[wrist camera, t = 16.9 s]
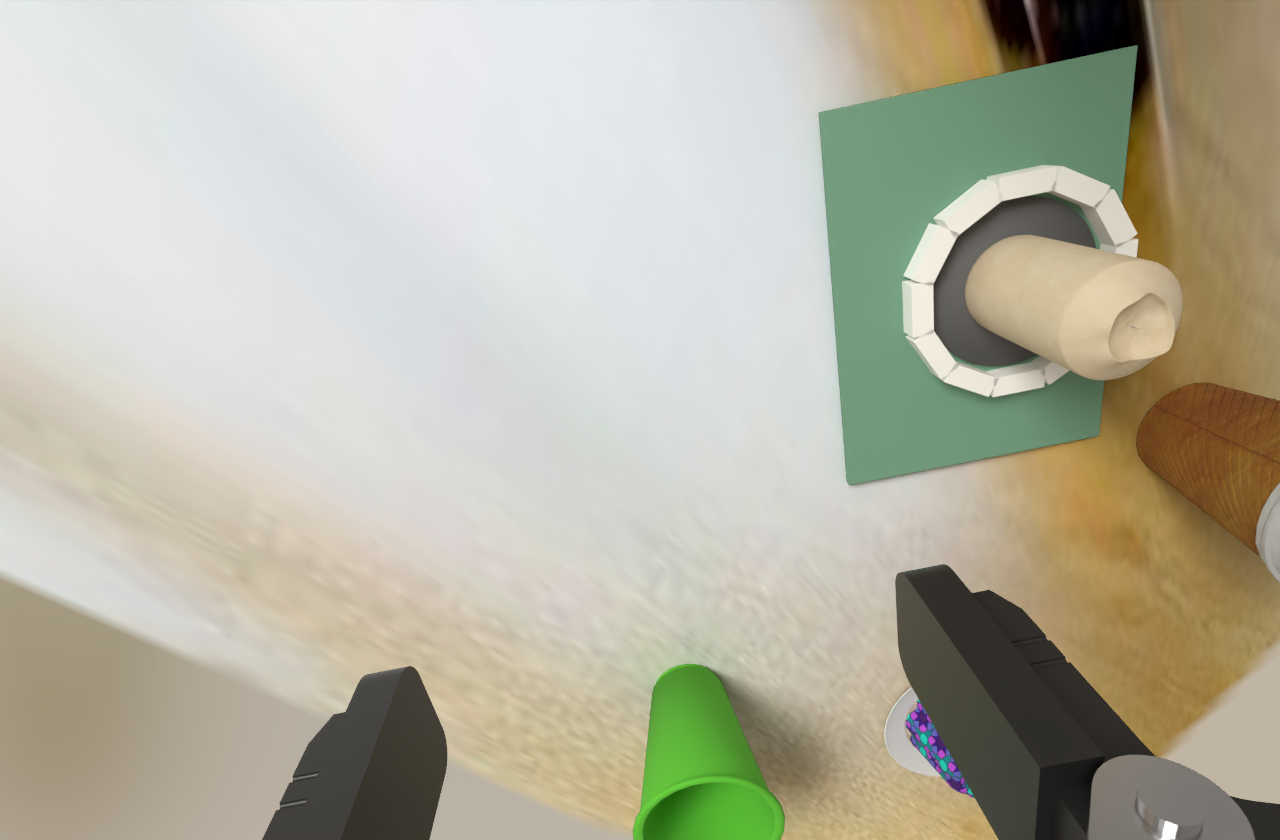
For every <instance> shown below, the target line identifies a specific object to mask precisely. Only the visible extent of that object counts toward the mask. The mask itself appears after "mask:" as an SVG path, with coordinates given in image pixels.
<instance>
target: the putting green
mask: <svg viewBox="0 0 1280 840" xmlns="http://www.w3.org/2000/svg"><path fill="white" fill-rule="evenodd" d="M1137 46H1138V45H1136V46H1130V47H1125V48H1121V49H1116V50H1111V51H1107V52H1102V53H1097V54H1092V55H1088V56H1083V57H1078V58H1074V59H1069V60H1064V61H1060V62H1055V63H1050V64H1045V65H1041V66H1036V67H1031V68H1027V69H1022V70H1017V71H1012V72H1008V73H1003V74H998V75H994V76H989V77H984V78H979V79H975V80H970V81H965V82H961V83H956V84H951V85H946V86H942V87H937V88H932V89H928V90H923V91H918V92H913V93H909V94H904V95H899V96H895V97H890V98H885V99H880V100H876V101H871V102H866V103H862V104H857V105H852V106H847V107H843V108H838V109H833V110H829V111H824V112H819V123H820V136H821V149H822V162H823V175H824V188H825V201H826V215H827V228H828V241H829V254H830V267H831V280H832V294H833V307H834V320H835V333H836V346H837V359H838V372H839V386H840V399H841V412H842V425H843V438H844V451H845V464H846V478H847V482H848V484H849V485H853V484H858V483H863V482H868V481H874V480H879V479H884V478H889V477H894V476H899V475H904V474H909V473H914V472H919V471H924V470H929V469H934V468H939V467H944V466H949V465H954V464H960V463H965V462H970V461H975V460H980V459H985V458H990V457H995V456H1000V455H1005V454H1010V453H1015V452H1020V451H1025V450H1030V449H1035V448H1040V447H1046V446H1051V445H1056V444H1061V443H1066V442H1071V441H1076V440H1081V439H1086V438H1091V437H1096V436H1099V430H1100V420H1101V410H1102V400H1103V390H1104V380H1093V379H1088V378H1085V377H1083V376H1081V375H1078V374H1076V373H1074V372H1072V371H1070V370H1068V369H1066V368H1064V367H1062V366H1060V365H1058V364H1056V363H1054V362H1052V361H1050V360H1048V359H1046V358H1044V357H1042V356H1040V355H1038V354H1036V353H1034V352H1032V351H1030V350H1028V349H1025V348H1023V347H1021V346H1019V345H1017V344H1015V343H1013V342H1011V341H1009V340H1007V339H1005V338H1003V337H1001V336H999V335H997V334H995V333H993V332H991V331H989V330H987V329H986V328H984V327H982V326H981V325H979V324H978V323H977V322H976V321H975V320H974V319H973V318H972V317H971V315H970V314H969V312H968V310H967V307H966V304H965V297H964V290H965V284H966V280H967V277H968V274H969V272H970V270H971V268H972V266H973V264H974V263H975V261H976V260H977V259H978V258H979V256H980V255H981V254H982V253H983V252H984V251H985V250H986V249H988V248H989V247H990V246H991V245H993V244H995V243H996V242H998V241H1000V240H1002V239H1005V238H1008V237H1011V236H1016V235H1035V236H1040V237H1045V238H1050V239H1054V240H1059V241H1063V242H1068V243H1072V244H1077V245H1081V246H1086V247H1091V248H1095V249H1100V250H1104V251H1109V252H1113V253H1118V254H1122V255H1127V256H1131V257H1137V248H1138V239H1135V238H1133V237H1134V236H1135V235H1137V232H1136V230H1135V228H1134V226H1133V224H1132V222H1131V220H1130V218H1129V216H1128V214H1127V213H1126V211H1125V209H1124V207H1123V205H1122V198H1123V188H1124V177H1125V167H1126V157H1127V147H1128V137H1129V127H1130V117H1131V107H1132V97H1133V86H1134V76H1135V66H1136V56H1137Z"/></svg>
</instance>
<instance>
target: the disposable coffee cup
mask: <svg viewBox="0 0 1280 840" xmlns="http://www.w3.org/2000/svg"><path fill="white" fill-rule="evenodd" d="M1137 448H1138V453H1139V456H1140V458H1141V459H1142V460H1143V462H1144V463H1145V464H1146V465H1147V466H1149V467H1150V468H1151V469H1153V470H1154V471H1155V472H1156V473H1158V474H1159V475H1160V476H1161V477H1163V478H1164V479H1165V480H1166V481H1167V482H1168V483H1170V484H1171V485H1172V486H1173V487H1175V488H1176V489H1177V490H1178V491H1180V492H1181V493H1182V494H1183V495H1185V496H1186V497H1187V498H1188V499H1189V500H1190V501H1192V502H1193V503H1194V504H1195V505H1197V506H1198V507H1199V508H1201V509H1202V510H1203V511H1204V512H1205V513H1207V514H1208V515H1209V516H1211V517H1212V518H1213V519H1214V520H1216V521H1217V522H1218V523H1219V524H1220V525H1222V526H1223V527H1224V528H1225V529H1226V530H1227V531H1229V532H1230V533H1231V534H1232V535H1234V536H1235V537H1236V538H1238V539H1239V540H1240V541H1241V542H1243V543H1244V544H1245V545H1246V546H1247V547H1249V548H1250V549H1251V550H1252V551H1254V552H1255V553H1256V554H1257V555H1258V556H1260V558H1261V560H1262V561H1263V563H1264V564H1265V565H1266V567H1267V569H1268V570H1269V572H1270V573H1271V574H1272V575H1273V577H1274V578H1275V579H1276V580H1277V581H1279V582H1280V401H1276V399H1271V398H1266V397H1263V396H1259V395H1256V396H1255V394H1251V393H1245V392H1243V391H1239V390H1235V389H1231V388H1227V387H1226V388H1225V387H1223V386H1219V385H1216V384H1212V383H1194V384H1190V385H1186V386H1183V387H1181V388H1179V389H1177V390H1175V391H1173V392H1171V393H1169V394H1168V395H1166V396H1165V397H1163V398H1162V399H1161V400H1160V401H1159V402H1157V403H1156V404H1155V406H1154V407H1153V408H1152V409H1151V410H1150V411H1149V412H1148V414H1147V415H1146V417H1145V418H1144V420H1143V422H1142V424H1141V426H1140V428H1139V432H1138V436H1137Z"/></svg>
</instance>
